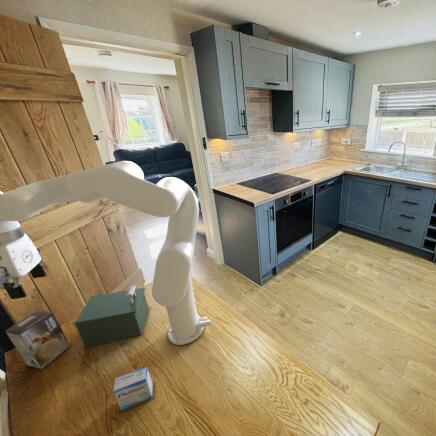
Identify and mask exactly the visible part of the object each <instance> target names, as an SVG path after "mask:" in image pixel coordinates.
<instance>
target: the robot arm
mask: <svg viewBox="0 0 436 436" xmlns="http://www.w3.org/2000/svg"><path fill="white" fill-rule="evenodd" d="M104 199H107V200H109V201H111V202H113V203H117V204H119V205H121V206H125V207H127V208H130V209H133V210H136V211H138V212H141V213H144V214H147V215H149V216H153V217H158V218H168V217H169V218H168V221H167V222H168V223H167V229H166V236H165V240H164V242H163V244H162V246H161V248H160V250H159V252H158V255H157V258H156V262H155V267H154V274H153V281H152V289H151V296H152V298H153V300H154V301H155V302H156V303H157V304H158V305H160V306H163V307H165V309H166V313H167V316H168V320H169V325H170V328H169V330H168V333H167V337H168V340H169V342H171V344H174V345H177V346H183V345H188V344H190V343H192V342H194V341H195V340H197V339H198V338H199V337H200V336H201V335H202V333H203V331H204V328H205V327H208V326H211V325H212V320H211V319H208V316H203V317H201V316H200V314H199V313H198V309H197V306H196V300H195V294H194V288H193V278H192V265H193V260H194V254H195V241H196V236H197V230H198V224H199V217H200V206H199V200H198V197H197V195H196V194H195V191H194V189H192V187H191V186H190V185H189V184H188V183H186V182H185V181H184V180H182V179H181V178H178V177H174V176H169V177H165V178H162V179H160V180H159V181H157V183H153V182H151V181H149V180H146V179H145V174H144V171H143V170H142V168H141V167H140V166H139V165H138V164H136V163H134V162H133V161H129V160H120V161H116V162H111V163H107V164H103V165H99V166H94V167H90V168H86V169H83V170H79V171H74V172H70V173H68V174H64V175H59V176H55V177H52V178H47V179H43V180H40V181H39V180H38V181H34V182H31V183H29V184H25V185H22V186H19V187H17V188H14V189H12V190H8V191H5V192H3V191H1V190H0V289H2V290H5V291H6V293H7V295H8V296H9V298H10V300H17V299H23V298H26V297H27V296H28V294H27V293H26V290H25V289H24V287H23V285H22V284H20V283H19V281H20V278H24V277H25V276H26V275H28V274H29V273H30V275H31V277H32V279H38V278H44V277H46V276H47V272H46V271H45V269H44V266H43V261H42V255H41V252H40V248H39V247H36V246H35V244H34V242H33V240H32V239H31V238H30V237H29V236H28V234H26V233H25V232H24V230H23V227H21V225H20V222H23V221H27V220H29V219H31V218H33V217H34V216H36V215H38V214H40V213H42V212H43V211H46V210H47V209H49V208H51V207H54V206H57V205H61V204H64V203H68V202H72V201H79V202H81V203H84V204H88V203H94V202H97V201H100V200H101V201H102V200H104ZM9 280H12V282H9Z"/></svg>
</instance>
